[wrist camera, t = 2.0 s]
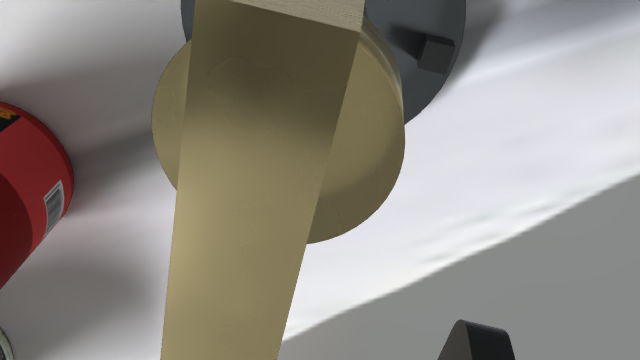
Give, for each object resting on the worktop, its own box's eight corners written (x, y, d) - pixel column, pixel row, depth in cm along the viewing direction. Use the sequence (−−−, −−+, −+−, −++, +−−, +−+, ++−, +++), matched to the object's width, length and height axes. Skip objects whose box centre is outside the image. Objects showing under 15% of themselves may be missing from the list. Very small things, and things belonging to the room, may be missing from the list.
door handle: (203, -93, 14) (57, -42, 8) (446, -33, 15) (496, 65, 8) (171, 231, 20) (70, 416, 13) (349, 272, 20) (333, 475, 14)
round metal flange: (206, -176, 22) (100, -188, 14) (504, -101, 22) (573, -70, 14) (180, 103, 28) (96, 208, 20) (414, 159, 28) (425, 285, 20)
